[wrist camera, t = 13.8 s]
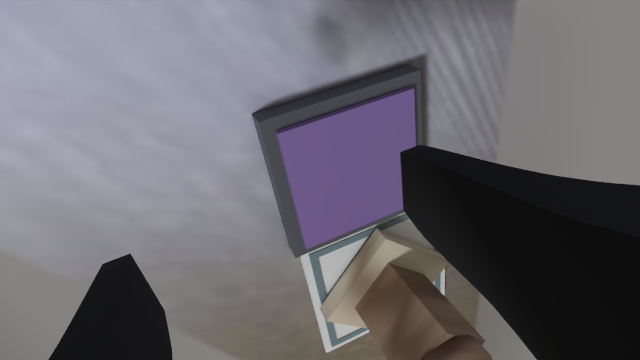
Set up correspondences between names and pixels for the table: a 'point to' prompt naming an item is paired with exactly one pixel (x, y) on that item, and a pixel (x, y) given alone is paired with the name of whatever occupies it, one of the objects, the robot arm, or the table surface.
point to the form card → (334, 260)
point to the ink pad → (341, 156)
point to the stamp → (402, 302)
